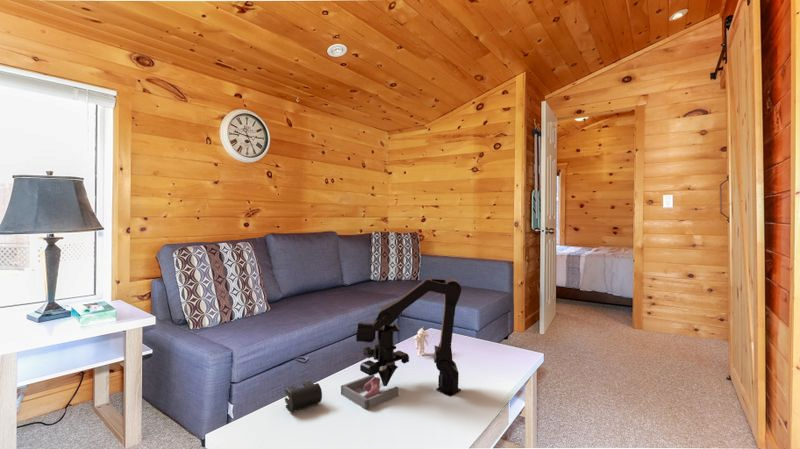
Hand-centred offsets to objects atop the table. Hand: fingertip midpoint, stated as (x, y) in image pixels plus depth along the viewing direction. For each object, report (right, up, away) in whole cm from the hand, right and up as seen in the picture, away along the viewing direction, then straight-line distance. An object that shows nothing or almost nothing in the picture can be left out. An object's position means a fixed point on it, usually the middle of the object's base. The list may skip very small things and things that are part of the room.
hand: (385, 385), depth 137 cm
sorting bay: (-5, -1, -5) cm, 7 cm away
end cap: (-26, -1, -14) cm, 29 cm away
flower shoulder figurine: (+15, 0, +34) cm, 37 cm away
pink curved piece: (-4, -2, -5) cm, 7 cm away
